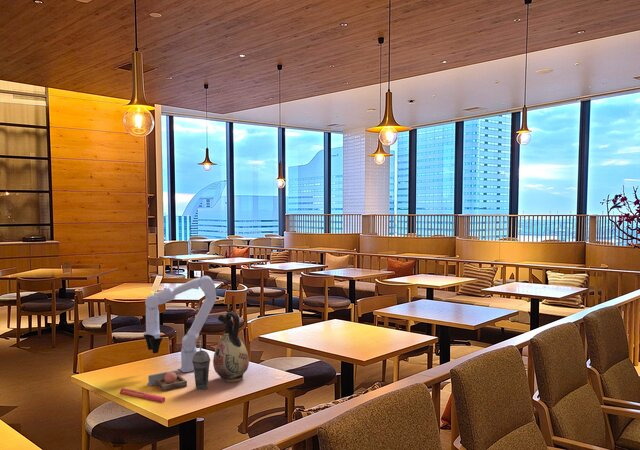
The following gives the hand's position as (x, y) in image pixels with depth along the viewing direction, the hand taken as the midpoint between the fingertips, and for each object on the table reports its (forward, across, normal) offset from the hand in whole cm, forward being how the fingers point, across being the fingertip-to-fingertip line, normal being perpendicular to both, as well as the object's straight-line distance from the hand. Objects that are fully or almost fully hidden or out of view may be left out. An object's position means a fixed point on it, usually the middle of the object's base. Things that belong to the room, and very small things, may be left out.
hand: (153, 351), depth 224 cm
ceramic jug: (+10, +31, +25) cm, 41 cm away
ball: (+9, +22, +1) cm, 24 cm away
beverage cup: (+10, +34, +10) cm, 37 cm away
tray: (+10, +22, +1) cm, 25 cm away
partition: (+10, +16, 0) cm, 19 cm away
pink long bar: (+10, +29, -12) cm, 33 cm away
